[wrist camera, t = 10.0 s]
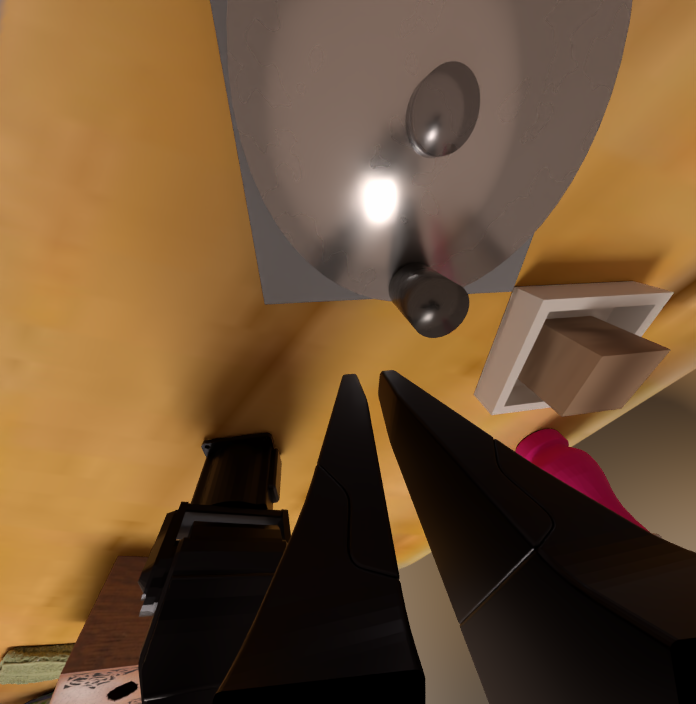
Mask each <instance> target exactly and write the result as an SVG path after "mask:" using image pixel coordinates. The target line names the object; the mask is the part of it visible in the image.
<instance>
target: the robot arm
mask: <svg viewBox="0 0 696 704" xmlns="http://www.w3.org/2000/svg"><path fill="white" fill-rule="evenodd" d="M378 396H379V401H380V405H381V409H382V413H383V417H384V421H385V424H386V428H387V432H388V436H389V440H390V443H391V446H392V449H393V452H394V454H395V457H396V459H397V462H398V465H399V467H400V470H401V473H402V475H403V478H404V480H405V483H406V486H407V488H408V491H409V494H410V496H411V499H412V501H413V504H414V507H415V509H416V512H417V515H418V517H419V520H420V522H421V525H422V528H423V530H424V533H425V536H426V538H427V541H428V544H429V546H430V549H431V551H432V554H433V557H434V559H435V562H436V565H437V567H438V570H439V572H440V575H441V577H442V580H443V583H444V586H445V588H446V591H447V593H448V596H449V598H450V601H451V604H452V607H453V609H454V611H455V614H456V617H457V620H458V622H459V623H460V628H461V631H462V633H463V636H464V639H465V641H466V644H467V646H468V649H469V652H470V654H471V657H472V660H473V662H474V665H475V668H476V670H477V673H478V675H479V678H480V680H481V683H482V686H483V688H484V691H485V694H486V697H487V699H488V702H489V704H696V553H695V552H693V551H689V550H687V549H684V548H682V547H680V546H677V545H675V544H673V543H670V542H668V541H666V540H664V539H662V538H660V537H658V536H656V535H654V534H652V533H650V532H648V531H646V530H645V529H643V528H641V527H639V526H637V525H636V524H634V523H632V522H631V521H629V520H627V519H625V518H624V517H622V516H620V515H619V514H617V513H615V512H614V511H612V510H610V509H608V508H607V507H605V506H603V505H602V504H600V503H598V502H597V501H595V500H593V499H591V498H590V497H588V496H586V495H585V494H583V493H581V492H580V491H578V490H576V489H574V488H573V487H571V486H569V485H568V484H566V483H564V482H563V481H561V480H559V479H558V478H556V477H554V476H553V475H551V474H549V473H548V472H546V471H544V470H543V469H541V468H539V467H538V466H536V465H535V464H533V463H531V462H530V461H528V460H527V459H525V458H524V457H522V456H521V455H519V454H518V453H516V452H515V451H513V450H511V449H510V448H508V447H507V446H505V445H504V444H503V443H501V442H500V441H498V440H497V439H493V437H492V436H491V435H489V434H488V433H486V432H485V431H483V430H482V429H480V428H479V427H477V426H476V425H474V424H473V423H471V422H470V421H468V420H467V419H465V418H464V417H462V416H461V415H459V414H458V413H457V412H455V411H454V410H452V409H451V408H449V407H448V406H446V405H445V404H443V403H442V402H440V401H439V400H437V399H436V398H434V397H433V396H431V395H430V394H428V393H427V392H426V391H424V390H423V389H421V388H420V387H418V386H417V385H415V384H414V383H412V382H411V381H409V380H408V379H406V378H405V377H403V376H402V375H400V374H399V373H397V372H396V371H394V370H388V371H382V372H381V373H380V379H379V389H378ZM201 447H202V449H203V452H204V454H205V456H206V460H205V463H204V466H203V469H202V472H201V475H200V478H199V481H198V484H197V487H196V489H195V492H194V495H193V498H192V501H191V504H190V503H189V502H181V504H180V507H179V509H178V510H175V511H173V512H170V513H167V515H166V517H165V520H164V522H163V525H162V527H161V530H160V532H159V534H158V537H157V539H156V541H155V544H154V546H153V548H152V550H151V552H150V555H149V557H148V559H147V561H146V564H145V566H144V568H143V570H142V572H141V575H140V577H139V580H138V584H139V586H140V588H141V590H142V592H143V595H142V598H141V601H144V603H143V605H142V608H141V611H140V614H139V617H144V616H152V619H151V621H150V624H149V627H148V630H147V633H146V636H145V639H144V642H143V645H142V648H141V651H140V656H139V662H138V672H139V682H140V691H141V701H142V704H425V676H424V672H423V669H422V666H421V662H420V659H419V656H418V653H417V650H416V646H415V643H414V639H413V636H412V633H411V629H410V625H409V621H408V617H407V612H406V608H405V603H404V599H403V593H402V588H401V583H400V581H399V571H398V566H397V560H396V555H395V549H394V544H393V539H392V533H391V528H390V522H389V517H388V511H387V506H386V500H385V495H384V489H383V484H382V478H381V473H380V467H379V462H378V456H377V451H376V445H375V440H374V434H373V429H372V424H371V418H370V413H369V407H368V402H367V399H366V396H365V394H364V391H363V389H362V387H361V384H360V382H359V379H358V377H357V375H356V374H346V375H343V377H342V380H341V383H340V387H339V390H338V394H337V397H336V400H335V404H334V407H333V411H332V414H331V417H330V421H329V424H328V428H327V431H326V435H325V438H324V441H323V445H322V448H321V452H320V455H319V458H318V462H317V466H316V468H315V471H314V475H313V478H312V481H311V484H310V487H309V490H308V493H307V496H306V499H305V503H304V505H303V508H302V510H301V513H300V515H299V518H298V520H297V523H296V525H295V528H294V530H293V533H292V535H291V533H290V524H289V516H288V510H284V509H282V510H273V503H276V502H278V501H279V498H280V481H281V459H280V455H279V450H278V449H277V448H275V447H274V443H273V438H272V435H271V434H270V433H261V434H253V435H245V436H237V437H229V438H221V439H212V440H206V441H204V442H203V444H202V446H201ZM176 539H178V540H176Z"/></svg>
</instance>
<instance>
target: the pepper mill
mask: <svg viewBox="0 0 696 704" xmlns="http://www.w3.org/2000/svg"><path fill="white" fill-rule="evenodd" d="M568 446H569V443H568V440H567V439H565V438H564V437H563V436H562V435H561V434H560V433H559V432H558V431H557V430H554V429H543V430H540V431H537V432H535V433H533V434H531V435H529V436H527V437H526V438H525V439H523V440H522V441H521V442H520V443H519V445H518V446H517V448H516V453H518V454H519V455H521V456H522V457H524V458H525V459H527V460H528V461H530V462H531V463H533V464H535V465H536V466H538V467H539V468H541V469H543V470H544V471H546V472H548V473H549V474H551V475H553V476H554V477H556V478H558V479H559V480H561V481H563V482H564V483H566V484H568V485H569V486H571V487H573V488H574V489H576V490H578V491H580V492H581V493H583V494H585V495H586V496H588V497H590V498H591V499H593V500H595V501H597V502H598V503H600V504H602V505H603V506H605V507H607V508H608V509H610V510H612V511H614V512H615V513H617V514H619V515H620V516H622V517H624V518H625V519H627V520H629V521H631V522H632V523H634V524H636V525H637V526H639V527H641V528H643V529H645V530H646V531H648V530H647V529H646V528H645V527H643V526H642V525H641V524H640V523H639V522H638V521H636V520H635V519H634V518H633V517H632V515H630V513H629V512H627V510H626V509H625V508H624V507H623V506H622V504H621V503H620V502H619V500H618V499H617V498H616V496H615V494H614V493H613V491H612V489H611V487H610V484H609V482H608V480H607V478H606V476H605V474H604V472H603V471H602V469H601V468H600V467H599V465H598V464H597V462H596V461H595V460H594V459H593V458H592V457H591V456H590V455H589V454H587V453H586V452H584V451H582V450H580V449H576V448H572V447H568ZM648 532H649V531H648ZM652 534H654V535H656V536H658V537H660V538H661V536H660V535H659V534H655V533H652Z"/></svg>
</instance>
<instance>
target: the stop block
mask: <svg viewBox="0 0 696 704" xmlns="http://www.w3.org/2000/svg"><path fill="white" fill-rule="evenodd" d="M669 351H670V349H668V348H666V347H663V346H661V345H659V344H656V343H654V342H652V341H649V340H647V339H645V338H642V337H640V336H638V335H635V334H633V333H631V332H628V331H626V330H624V329H621V328H619V327H617V326H614V325H612V324H610V323H607V322H605V321H603V320H600V319H598V318H596V317H593V316H582V317H567V318H553V319H546V320H545V322H544V324H543V326H542V328H541V330H540V332H539V335H538V337H537V339H536V341H535V343H534V345H533V347H532V349H531V351H530V353H529V355H528V357H527V360H526V362H525V364H524V366H523V368H522V370H521V372H520V374H519V376H518V378H517V379H518V380H520V381H521V382H522V383H523V384H524V385H525V386H527V387H528V388H529V389H530V390H531V391H532V392H534V393H535V394H536V395H537V396H538V397H539V398H541V399H542V400H543V401H544V402H545V403H546V404H548V405H549V406H550V407H551V408H552V409H553V410H555V411H556V412H557V413H558V414H559V415H560V416H562V417H563V416H570V415H578V414H585V413H592V412H600V411H607V410H614V409H621V408H622V407H623V406H624V405H625V404H626V403H627V401H628V400H629V399H630V398H631V397H632V396H633V394H634V393H635V392H636V391H637V390H638V388H639V387H640V386H641V385H642V384H643V382H644V381H645V380H646V379H647V378H648V376H649V375H650V374H651V373H652V372H653V370H654V369H655V368H656V367H657V366H658V364H659V363H660V362H661V361H662V360H663V359H664V357H665V356H666V355H667V354H668V353H669Z"/></svg>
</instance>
